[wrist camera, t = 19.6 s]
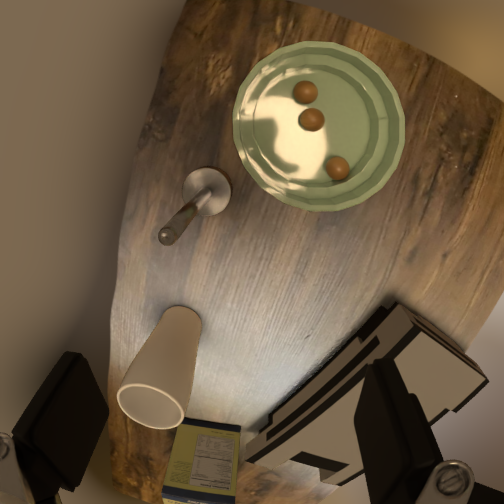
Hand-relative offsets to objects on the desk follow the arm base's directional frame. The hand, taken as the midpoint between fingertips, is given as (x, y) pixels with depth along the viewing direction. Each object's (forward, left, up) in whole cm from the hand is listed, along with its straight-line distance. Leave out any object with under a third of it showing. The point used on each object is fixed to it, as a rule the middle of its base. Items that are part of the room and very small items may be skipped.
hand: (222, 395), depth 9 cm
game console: (+30, +16, -26) cm, 43 cm away
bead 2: (-9, +6, -24) cm, 27 cm away
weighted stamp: (-2, -4, -26) cm, 27 cm away
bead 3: (-4, +9, -24) cm, 26 cm away
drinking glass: (+15, -9, -26) cm, 32 cm away
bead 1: (-11, +6, -24) cm, 28 cm away
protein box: (+43, -9, -26) cm, 51 cm away
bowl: (-8, +7, -26) cm, 28 cm away
